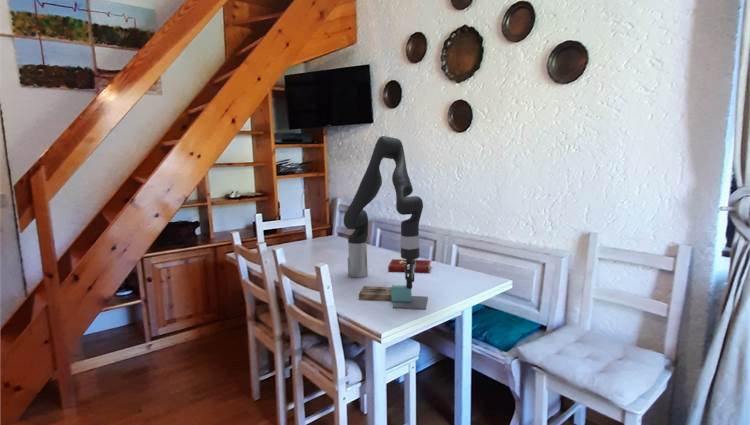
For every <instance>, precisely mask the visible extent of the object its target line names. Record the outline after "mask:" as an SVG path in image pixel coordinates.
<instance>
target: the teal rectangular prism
mask: <svg viewBox="0 0 750 425" xmlns="http://www.w3.org/2000/svg"><path fill="white" fill-rule="evenodd" d="M390 287H391V298H392V301H391V302H395V301H404V302H411V300H412V296H413V295H412V294H413V293H412V289H407V287H406V284H405V285H403V284H402V285H400V284H399V285H398V284H396V285H395V284H394V285H393V284H391V286H390Z"/></svg>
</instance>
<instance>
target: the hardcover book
mask: <svg viewBox="0 0 750 425" xmlns="http://www.w3.org/2000/svg"><path fill="white" fill-rule="evenodd" d="M406 261H407V260H406V259H403V258H401V259H399V258H398V259H396V258H392V259H391V260H390V262H389V263H388V268H387V269H388V273H405V263H406ZM415 262H416V264H415V273H414V274H430V269H431V263H432V260H430V259H415Z"/></svg>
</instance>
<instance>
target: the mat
mask: <svg viewBox="0 0 750 425" xmlns="http://www.w3.org/2000/svg"><path fill="white" fill-rule="evenodd" d="M428 299H429V296H422V295H420V296H419V295H412V300H411V302H404V301H393V305H392V309H402V310H403V309H405V310H424V311H426V310H427V303H428Z"/></svg>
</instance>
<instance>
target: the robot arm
mask: <svg viewBox="0 0 750 425" xmlns="http://www.w3.org/2000/svg"><path fill="white" fill-rule="evenodd" d="M383 159H389V160H393V162H394V163H395V167H394V169H393V172H392V175H391V176H392V177H391V178H392V180H391V181H392V184H393V189H394V190H395V196H396V197H395V198H396V202H395V208H396V211H397V212H398V214H400V215H401V216H402V215H403V216H407V215H410V217H409V218H407V219H404V220H402V221H401V223H400V257H401V259H403V260H407V261H406V263H405V272H404V274H405V275H404V279H405V282H406V284H405V285H406V287H407V289H411V290H412V289H413V283H414V282H415V274H416V273H415V264H416V262H415V260H419V258H420V252H421V251H420V234H419V233H420V232H419V228H420V226H419V225H420V221H421V217H422V214H423V213H422V212H423V208H424V201H423V200H422V198H421V197H420V196H417V195H415V196H414V195H413V196H411V194H412V193H413V191H414V188H413V185H412V182H411V180H410V176H409V173H408V170H407V163H406V156H405V150H404V145H403V143H402V141H401V140H400V139H399V138H395V137H392V136H386V135H385V136H384V135H382V136H379V137H378V139H377V140H376V142H375V145H374V148H373V151H372V154H371V156H370V160H369V163H368V166H367V168H366V170H365V173H364V174H363V177H362V179H361V181H360V183H359V185H358V186H359V187H358V189H357V191H356V192H355V195H354V197H353V199H352V201H351V203H350V205H349V206H348V208H347V210H346V211H345V214H344V215H343V225H344V227H345V228H346V229H348V230H354V231H353V232H352V233H351V234H350V235H349V236H348V237H347V245H348V248H347V249H348V257H347V276H348V277H349V278H350V277H351V278H355V279H359V278H365V277H368V272H369V270H368V244H367V243H368V242H367V241H368V239H367V238H368V236H369V216H368V213H367V211H366V210H364V208H366V206H367V205H369V204H370V203H371V202H372V201H373V200H374V199H375V198H376V197H377V196H378V193H379V191H380V189H381V187H382V184H383V179H382V175H381V170H380V166H381V163H382V161H383Z"/></svg>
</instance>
